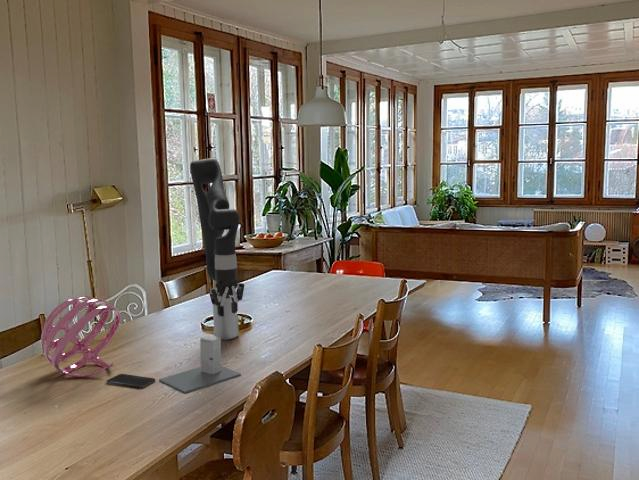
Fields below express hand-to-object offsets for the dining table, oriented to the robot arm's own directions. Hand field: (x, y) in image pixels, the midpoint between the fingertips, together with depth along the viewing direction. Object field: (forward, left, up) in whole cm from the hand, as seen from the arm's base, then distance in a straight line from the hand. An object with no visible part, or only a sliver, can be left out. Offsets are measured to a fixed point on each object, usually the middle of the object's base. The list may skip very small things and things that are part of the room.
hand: (227, 314), depth 213 cm
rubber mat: (+13, +1, -19) cm, 23 cm away
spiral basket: (+37, -36, -20) cm, 55 cm away
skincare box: (+8, 0, -19) cm, 20 cm away
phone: (+31, -13, -20) cm, 39 cm away
